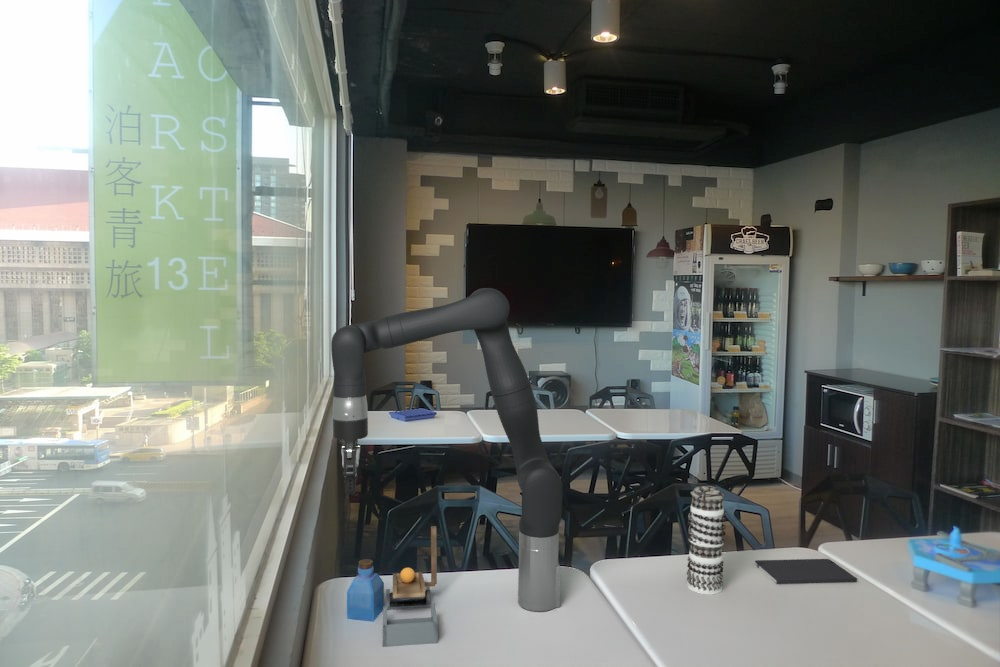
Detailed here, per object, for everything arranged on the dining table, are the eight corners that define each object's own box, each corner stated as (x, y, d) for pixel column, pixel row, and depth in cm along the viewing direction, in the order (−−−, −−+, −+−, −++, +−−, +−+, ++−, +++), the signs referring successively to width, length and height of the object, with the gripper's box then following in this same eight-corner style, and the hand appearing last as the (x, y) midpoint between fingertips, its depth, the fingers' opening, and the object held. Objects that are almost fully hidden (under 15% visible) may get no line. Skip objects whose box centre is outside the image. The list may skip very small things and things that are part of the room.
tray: (434, 620, 151) (434, 602, 151) (437, 642, 142) (437, 624, 141) (383, 623, 149) (383, 606, 149) (382, 646, 140) (382, 627, 140)
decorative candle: (731, 593, 167) (735, 492, 165) (697, 597, 164) (700, 494, 163) (711, 578, 176) (714, 482, 174) (678, 581, 173) (681, 484, 172)
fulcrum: (429, 597, 162) (429, 584, 162) (430, 607, 157) (430, 593, 157) (386, 600, 161) (386, 586, 160) (386, 610, 156) (386, 596, 156)
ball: (414, 581, 167) (414, 565, 167) (415, 584, 163) (415, 568, 164) (399, 582, 166) (399, 566, 167) (400, 585, 163) (400, 569, 163)
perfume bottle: (373, 621, 150) (373, 568, 149) (347, 618, 152) (346, 565, 151) (383, 609, 156) (383, 557, 156) (358, 606, 158) (358, 555, 157)
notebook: (776, 586, 172) (856, 584, 174) (776, 580, 172) (857, 578, 174) (753, 565, 185) (828, 564, 187) (753, 560, 185) (829, 558, 187)
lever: (434, 583, 168) (433, 523, 171) (439, 595, 151) (438, 529, 154) (392, 585, 166) (392, 525, 169) (392, 598, 150) (393, 531, 153)
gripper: (366, 421, 145) (367, 496, 146) (368, 409, 159) (369, 478, 160) (330, 422, 144) (331, 498, 145) (335, 410, 158) (336, 480, 159)
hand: (351, 487), depth 153 cm, fingers open, 8 cm apart
